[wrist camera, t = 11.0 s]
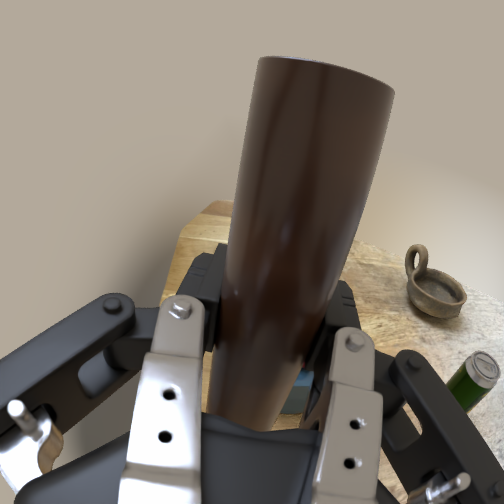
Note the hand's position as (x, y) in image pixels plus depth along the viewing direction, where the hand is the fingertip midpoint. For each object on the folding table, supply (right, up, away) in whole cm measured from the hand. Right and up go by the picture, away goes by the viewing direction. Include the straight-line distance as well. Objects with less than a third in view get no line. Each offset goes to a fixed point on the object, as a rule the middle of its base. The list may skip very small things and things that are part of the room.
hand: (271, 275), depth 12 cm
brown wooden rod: (-2, -10, +3) cm, 11 cm away
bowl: (+35, -10, +43) cm, 56 cm away
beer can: (+24, -22, +18) cm, 37 cm away
